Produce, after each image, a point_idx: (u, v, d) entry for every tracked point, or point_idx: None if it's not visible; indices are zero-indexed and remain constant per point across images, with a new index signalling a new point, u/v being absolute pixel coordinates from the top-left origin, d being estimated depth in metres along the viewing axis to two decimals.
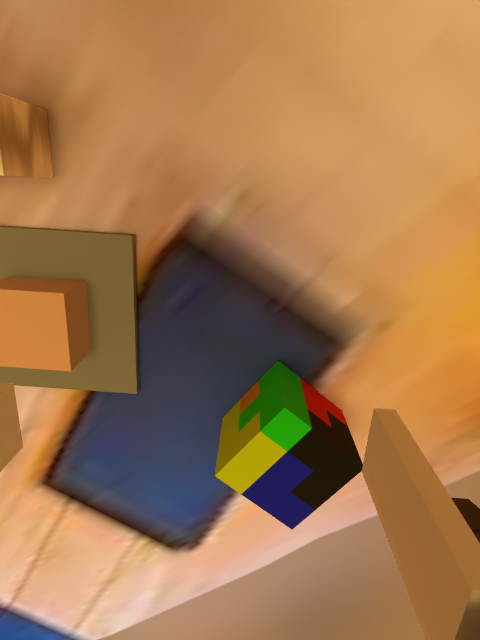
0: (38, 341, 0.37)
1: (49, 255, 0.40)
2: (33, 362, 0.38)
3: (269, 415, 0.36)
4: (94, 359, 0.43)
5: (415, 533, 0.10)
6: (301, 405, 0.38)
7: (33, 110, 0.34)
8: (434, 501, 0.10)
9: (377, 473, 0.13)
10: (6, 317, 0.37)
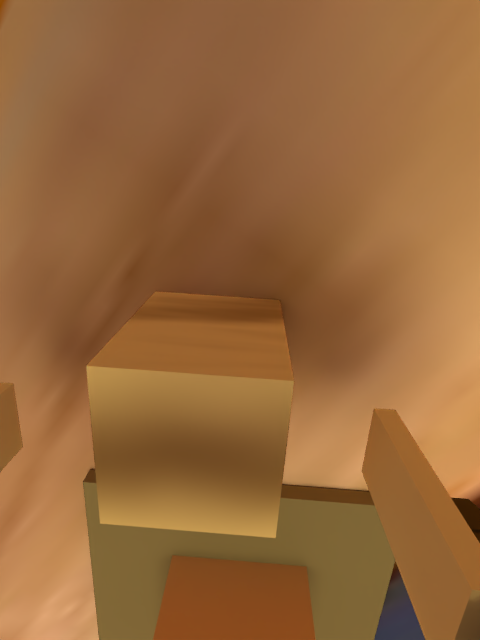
0: None
1: None
2: None
3: None
4: None
5: (415, 533, 0.10)
6: None
7: None
8: (434, 501, 0.10)
9: (377, 473, 0.13)
10: None
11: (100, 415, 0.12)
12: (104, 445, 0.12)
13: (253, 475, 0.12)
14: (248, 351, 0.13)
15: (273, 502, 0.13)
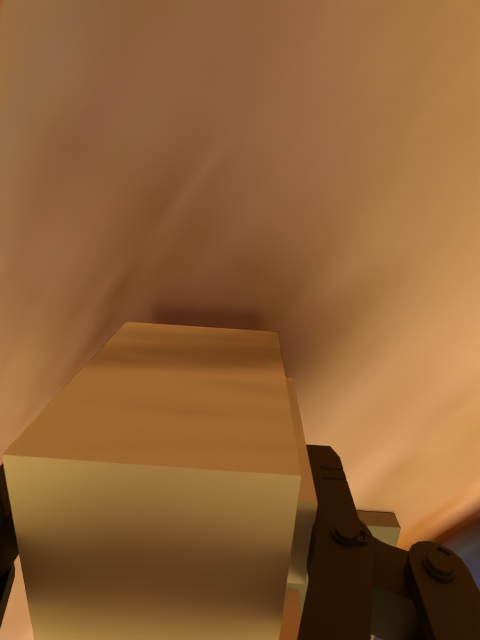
0: None
1: None
2: None
3: None
4: None
5: None
6: None
7: None
8: None
9: None
10: None
11: (27, 519, 0.08)
12: (35, 557, 0.09)
13: (243, 594, 0.09)
14: (237, 419, 0.09)
15: (271, 628, 0.09)
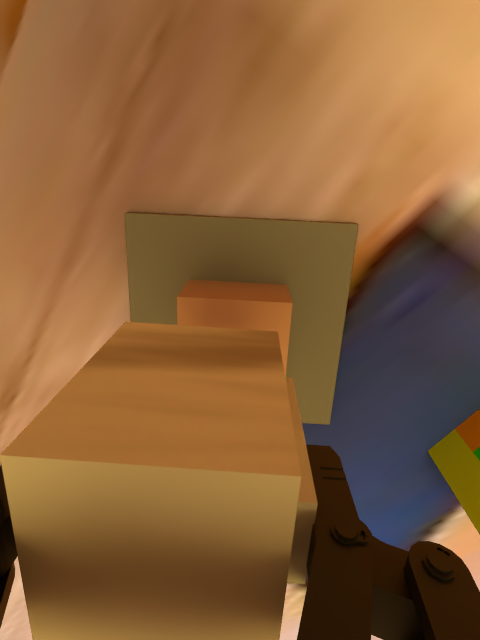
0: None
1: (243, 252, 0.31)
2: None
3: None
4: None
5: None
6: None
7: None
8: None
9: None
10: None
11: (25, 520, 0.08)
12: (34, 558, 0.09)
13: (243, 596, 0.09)
14: (237, 419, 0.09)
15: (271, 629, 0.09)
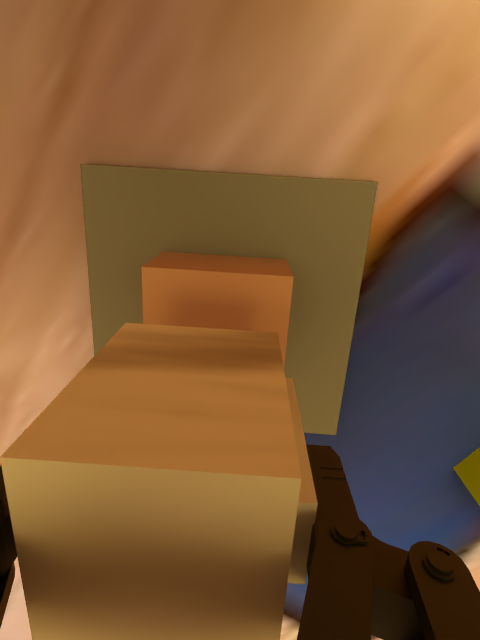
0: None
1: (232, 217, 0.24)
2: None
3: None
4: None
5: None
6: None
7: None
8: None
9: None
10: (184, 319, 0.21)
11: (25, 522, 0.08)
12: (34, 560, 0.09)
13: (243, 598, 0.09)
14: (237, 421, 0.09)
15: (271, 631, 0.09)
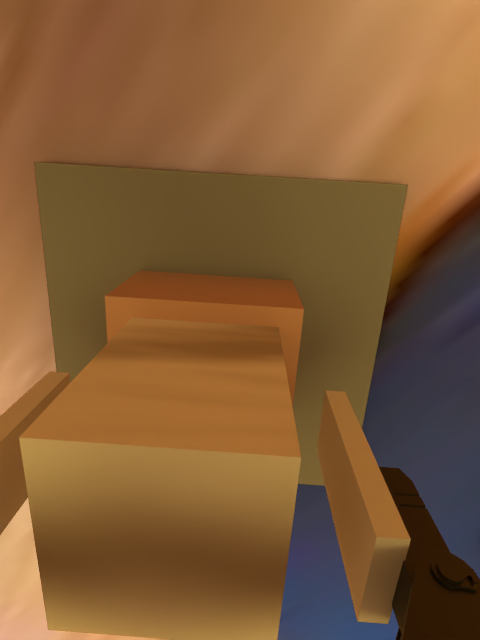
0: None
1: (225, 229, 0.19)
2: None
3: None
4: None
5: (346, 497, 0.11)
6: None
7: None
8: (361, 467, 0.11)
9: (326, 449, 0.14)
10: None
11: (41, 499, 0.09)
12: (49, 536, 0.09)
13: (246, 573, 0.09)
14: (240, 407, 0.10)
15: (273, 605, 0.10)
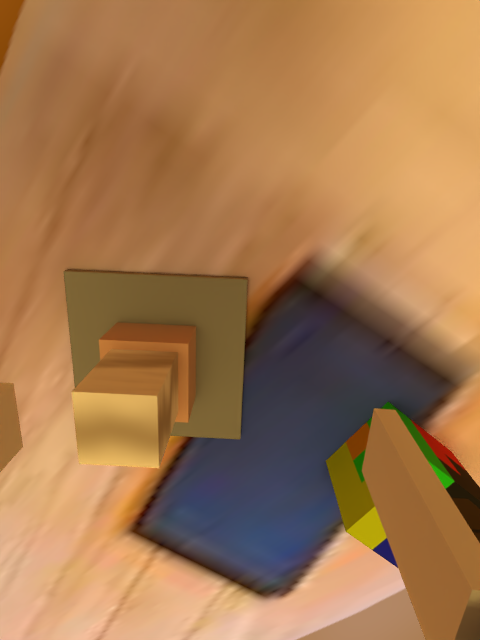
0: None
1: (159, 301, 0.38)
2: None
3: None
4: (198, 405, 0.42)
5: (415, 533, 0.10)
6: (432, 454, 0.36)
7: (172, 368, 0.32)
8: (434, 501, 0.10)
9: (377, 473, 0.13)
10: None
11: (78, 412, 0.28)
12: (80, 426, 0.28)
13: (145, 437, 0.28)
14: (144, 383, 0.29)
15: (155, 450, 0.28)
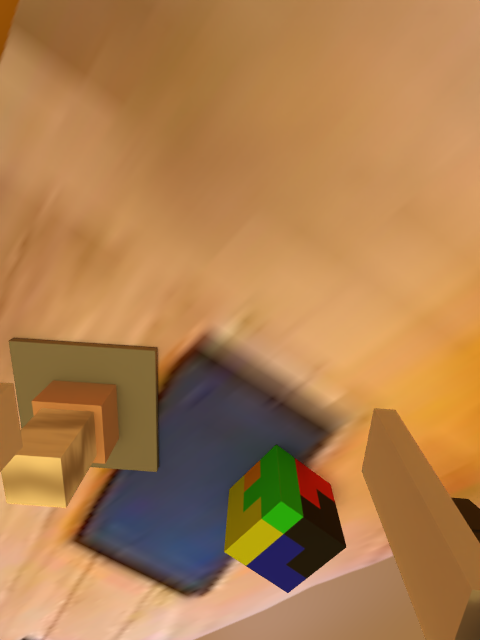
0: None
1: (86, 365, 0.48)
2: None
3: (269, 505, 0.44)
4: (122, 444, 0.52)
5: (415, 533, 0.10)
6: (295, 493, 0.46)
7: (85, 427, 0.42)
8: (434, 501, 0.10)
9: (377, 473, 0.13)
10: None
11: None
12: (5, 477, 0.38)
13: (54, 486, 0.38)
14: (55, 445, 0.38)
15: (62, 495, 0.38)
